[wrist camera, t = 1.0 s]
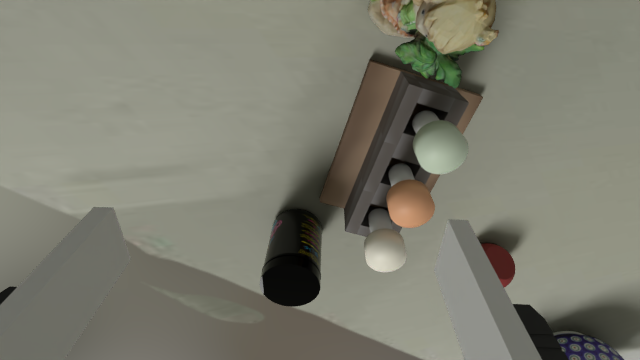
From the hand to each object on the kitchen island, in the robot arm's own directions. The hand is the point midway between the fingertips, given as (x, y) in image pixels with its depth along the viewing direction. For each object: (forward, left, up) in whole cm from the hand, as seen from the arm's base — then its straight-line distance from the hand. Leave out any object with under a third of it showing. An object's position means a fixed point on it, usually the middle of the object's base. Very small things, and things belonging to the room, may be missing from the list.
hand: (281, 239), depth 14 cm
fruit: (+30, -19, -27) cm, 44 cm away
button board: (+12, -6, -27) cm, 30 cm away
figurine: (+7, +8, -27) cm, 29 cm away
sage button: (+12, 0, -21) cm, 24 cm away
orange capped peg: (+12, -6, -21) cm, 25 cm away
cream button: (+12, -12, -21) cm, 27 cm away
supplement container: (+4, -21, -27) cm, 34 cm away
